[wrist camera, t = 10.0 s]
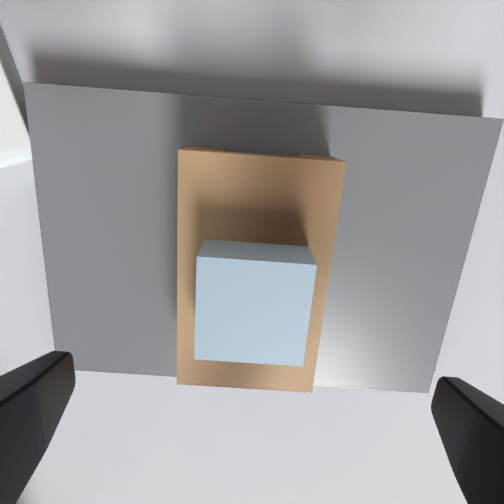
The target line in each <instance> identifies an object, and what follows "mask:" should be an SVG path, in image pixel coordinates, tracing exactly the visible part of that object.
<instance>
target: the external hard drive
mask: <svg viewBox="0 0 504 504" xmlns="http://www.w3.org/2000/svg"><path fill="white" fill-rule="evenodd" d="M28 161H32V152H31V144H30V136H29V127H28V119H27V110H26V102H25V93H24V87H23V85H22V82H21V79H20V77H19V74H18V71H17V69H16V66H15V64H14V61H13V58H12V56H11V53H10V50H9V48H8V45H7V43H6V40H5V37H4V35H3V32H2V30H1V27H0V168H2V167H6V166H11V165H15V164H19V163H23V162H28Z"/></svg>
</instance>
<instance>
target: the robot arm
mask: <svg viewBox="0 0 504 504" xmlns="http://www.w3.org/2000/svg"><path fill="white" fill-rule="evenodd" d="M74 387H75V370H74V361H73V355H72V354H71V353H70V352H67V351H52V352H50V353H48V354H46V355H43V356H41V357H39V358H37V359H35V360H33V361H31V362H29V363H27V364H24V365H22V366H20V367H18V368H16V369H14V370H12V371H10V372H8V373H6V374H3V375H1V376H0V504H16V502H17V500H18V499H19V497H20V495H21V494H22V492H23V490H24V488H25V487H26V485H27V483H28V481H29V480H30V478H31V476H32V474H33V473H34V471H35V469H36V468H37V466H38V464H39V462H40V461H41V459H42V457H43V455H44V453H45V452H46V450H47V448H48V446H49V443H50V441H51V439H52V437H53V435H54V433H55V430H56V428H57V426H58V424H59V421H60V419H61V417H62V415H63V413H64V410H65V408H66V406H67V404H68V401H69V399H70V397H71V395H72V393H73V390H74ZM431 411H432V415H433V418H434V420H435V423H436V426H437V429H438V431H439V434H440V437H441V440H442V443H443V445H444V448H445V451H446V454H447V456H448V459H449V462H450V465H451V467H452V470H453V472H454V475H455V477H456V479H457V482H458V484H459V486H460V488H461V490H462V493H463V495H464V497H465V499H466V501H467V503H468V504H504V404H502V403H500V402H498V401H497V400H495V399H493V398H492V397H490V396H488V395H487V394H485V393H483V392H482V391H480V390H478V389H477V388H475V387H473V386H472V385H470V384H468V383H467V382H465V381H463V380H461V379H460V378H457V377H441V378H439V380H438V382H437V385H436V389H435V392H434V396H433V399H432V403H431Z"/></svg>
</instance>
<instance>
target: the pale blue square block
mask: <svg viewBox="0 0 504 504" xmlns="http://www.w3.org/2000/svg"><path fill="white" fill-rule="evenodd" d="M316 269H317V264H316V261H315V259H314V257H313V255H312V253H311V250H310V248H309V246H295V245H281V244H267V243H253V242H239V241H225V240H211V239H204V242H203V244H202V246H201V248H200V250H199V253H198V255H197V266H196V306H195V345H194V359H197V360H212V361H227V362H242V363H257V364H272V365H287V366H302V367H303V363H304V356H305V349H306V341H307V334H308V327H309V320H310V313H311V305H312V298H313V291H314V284H315V277H316Z"/></svg>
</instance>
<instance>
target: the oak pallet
mask: <svg viewBox="0 0 504 504" xmlns="http://www.w3.org/2000/svg"><path fill="white" fill-rule="evenodd" d="M345 168H346V162H345V161H342V160H340V159H337V158H334V157H332V156H325V155H311V154H297V153H296V155H295V156H283V155H269V154H255V153H241V152H227V151H226V148H214V147H201V146H189V147H186V148H182V149H179V150H178V219H177V384H183V385H199V386H215V387H231V388H247V389H263V390H278V391H294V392H310V393H312V390H313V383H314V377H315V370H316V363H317V356H318V350H319V343H320V336H321V330H322V323H323V316H324V309H325V303H326V296H327V289H328V282H329V276H330V269H331V262H332V256H333V249H334V242H335V235H336V229H337V222H338V215H339V208H340V202H341V195H342V188H343V182H344V175H345ZM204 239H211V240H225V241H239V242H253V243H267V244H281V245H295V246H309V248H310V250H311V253H312V255H313V257H314V259H315V261H316V264H317V269H316V277H315V284H314V291H313V298H312V305H311V313H310V320H309V327H308V334H307V341H306V349H305V356H304V363H303V367H302V366H287V365H272V364H257V363H242V362H227V361H212V360H197V359H194V345H195V306H196V266H197V255H198V253H199V250H200V248H201V246H202V244H203V242H204Z"/></svg>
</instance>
